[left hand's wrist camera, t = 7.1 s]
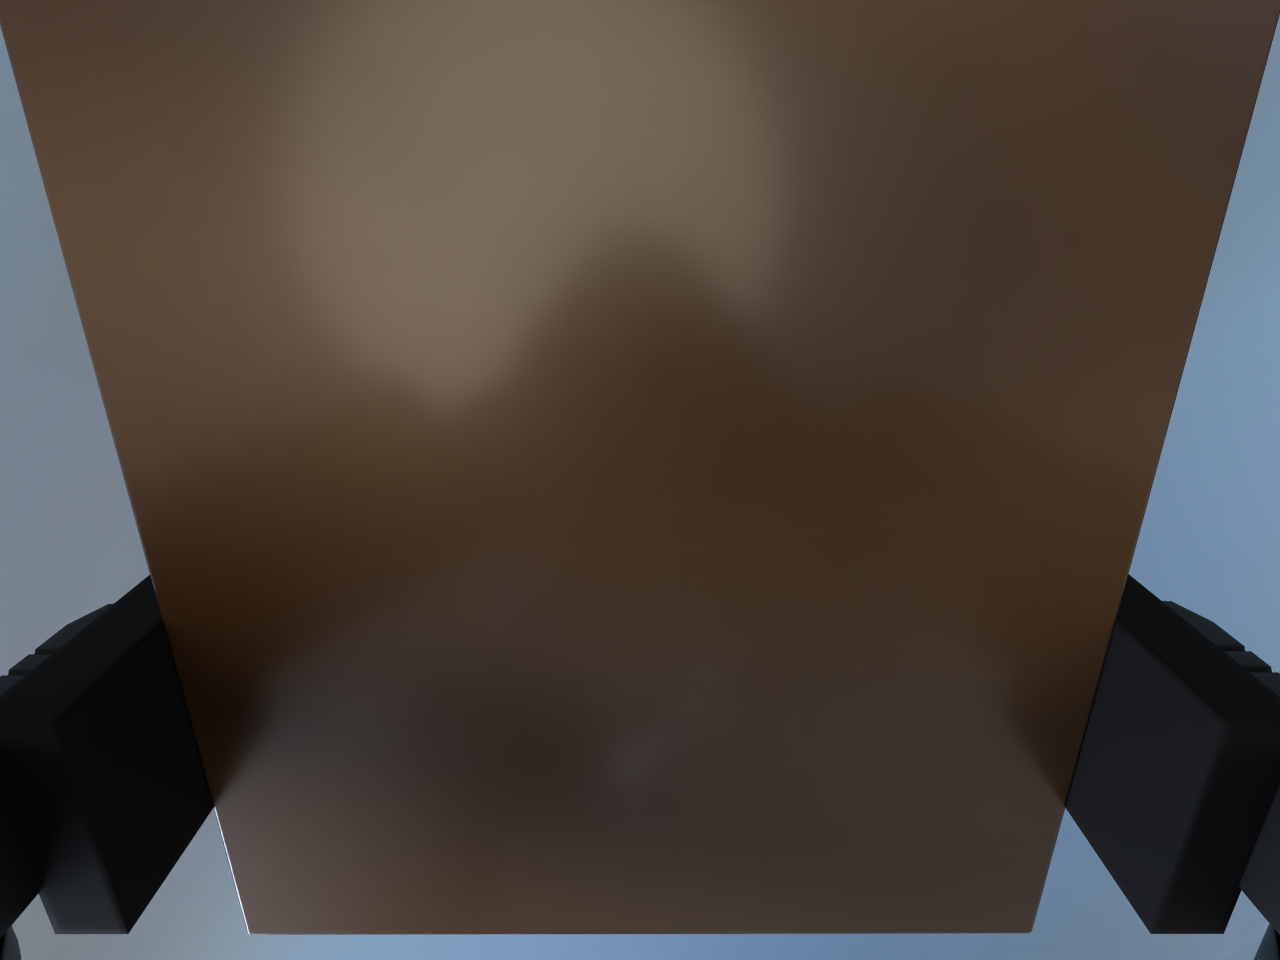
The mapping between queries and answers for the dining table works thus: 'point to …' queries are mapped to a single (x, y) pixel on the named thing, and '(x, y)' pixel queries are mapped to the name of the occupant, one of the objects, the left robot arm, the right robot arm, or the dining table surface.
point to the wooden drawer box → (638, 428)
